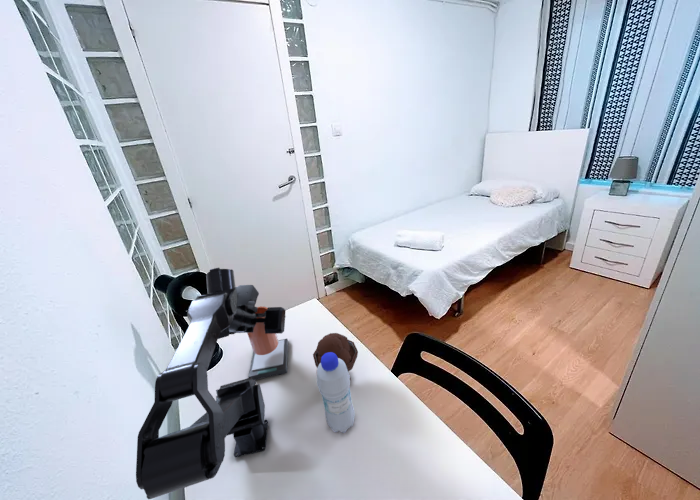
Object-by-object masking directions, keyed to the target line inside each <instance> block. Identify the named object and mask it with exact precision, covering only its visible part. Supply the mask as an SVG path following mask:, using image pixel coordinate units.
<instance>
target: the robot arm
mask: <svg viewBox="0 0 700 500" xmlns="http://www.w3.org/2000/svg"><path fill="white" fill-rule="evenodd" d="M205 277H206V289H207V293H206V294H202V295H197V296H196V298H194V299H193V300H192V301H191V303H190V305H189V306H188V310H187V313H186V316H187V319H188V320H189V323H190V324H189V325H188V327H187V329H186V331H185V333H184V335H183V337H182V338H181V340H180V342H179V344H178V346H177V348H176V350H175V351H174V353H173V355H172V357H171V359H170V361H169V363H168V364H167V367H166V368H165V370H164V371H163V372H160V373H158V375H157V376H156V379H155V383H154V402H153V404H152V406H151V408H150V410H149V412H148V414H147V416H146V417H145V420H144V422H143V423H142V426H141V427H140V429H139V431H138V435H137V440H136V441H137V443H136V464H135V482H136V485H137V487H138V488H139V489H140V490H143V491H144V493H145V495H146V499H148V500H153V499H154V498H158V497H162V496H164V495H168V494H171V493H174V492H176V491H179V490H182V489H185V488H188V487H191V486H194V485H197V484H199V483H202V482H206V481H208V480H211V479H212V480H213V479H214V478H215V477H216V476H217V474H218V473H219V470H220V468H221V466H222V463H223V462H224V459H225V456H226V438H227V436H230V435H232V436H233V439H234V442H235V446H234V451H233V457H234V458H239V457H243V456H249V455H253V454H256V453H260V452H264V451H265V450H266V448H267V440H268V439H267V438H268V429H269V420H268V419H265V417H266V416H265V415H266V413H265V411H266V404H265V400H264V396H263V392H262V391H263V390H262V388H261V384H259V383H258V384H257V380H253V378H252V377H251V378H249V377H248V378H244V379H241V380H237V381H234V382H230V383H226V384H223V385H220V386H219V388H218V389H216V390H215V392H216V396H215V397H214V396H213V395H212V393H211V392H210V391H209V383H208V369H209V366H210V364H211V360H212V358H213V355H214V352H215V349H216V345H217V342H218V341H219V340H220V339H223V338H226V337H229V336H230V335H236V334H247V333H253V330H254V327H255V325H256V323H264V325H265V334H278V335H279V334H280V335H281V334H283V333H284V332H285V327H286V326H285V325H286V311H287V310H286V309H285V308H284V307H282V306H272V307H271V306H268V307H267V310H266V311H265V313H257V309H258V307H259V306H256V303H257V300H258V297H259V294H260V293H259V291H258V289H257V288H256V287H255V285H253V284H241V285H237V286H236V280H235V272H234V270H233V269H232V268H231V269H229V268H220V267H214V268H210V269H209V271H208V272H207V273H206V274H205ZM255 313H256V314H255ZM265 316H266V317H265ZM257 317H258V318H257ZM260 317H261V318H260ZM262 317H264V318H262ZM192 396H195V398H196V399H197V400H198V402H199V403H200V405H201V406H202V407H203V409H204V410H205V412H204V414H202V415H201V417H199V418H198V419H196V420H195V422H193V423H192V424H191V425H190V426H187V427H185V428H182V429H179V430H176V431H173V432H169V433H167V434H165V435H161V436H160V434H159V433H160V429H161V427H162V425H163V423H164V421H165V419H166V417H167V415H168V413H169V411H170V408H171V407H172V405H173V402H174V401H177V400H180V399H185V398H189V397H192Z"/></svg>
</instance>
